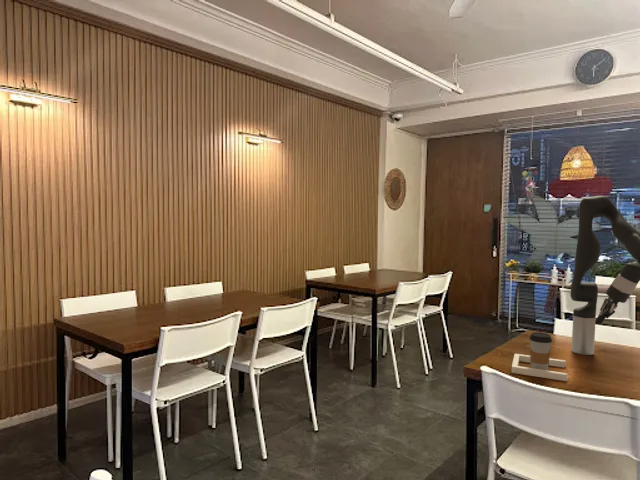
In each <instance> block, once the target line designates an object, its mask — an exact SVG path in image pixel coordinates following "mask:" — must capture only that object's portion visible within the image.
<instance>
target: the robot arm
mask: <svg viewBox="0 0 640 480" xmlns="http://www.w3.org/2000/svg"><path fill="white" fill-rule="evenodd" d="M602 217H604V218H606V219H607V220H609V222H610V224H611V226H610V227H611V231H612V234H613V236H614V237H615V238H616V239H617V240H618V241H619V242H620V243H621V244H622V245H623V246H624V247H625V248H626V251H627V252H628V254H629V255H631V256H632V257H633V258H634V259H636V260H635V261H632V262H627V263H626V264H624V266H623V268H622V269H621V271H620V272H619V273H618V275H617V276H615V278H614V279H613V281H612V282H611V283H610V285H609V287H608V288H607V290H606V291H605V294H606V296H608V297H607V298H605V299H604V300H603V302H602V304H601V306H600V308H599V314H598V316H597V303H598V294H599V286H598V284H597V283H596V282H588V281H587V282H586V281H582V280H583V279H584V277H585V275H586V274H587V273H588V271H590V270H591V269H592V268H593V267H595V265H596V264H597V263H598V261H599V259H600V253H601V243H600V241H599V239H598V237H597V235H596V233H594V231H593V220H594V219H596V218H602ZM577 234H578V235H577V244H576V249H575V261H574V270H573V276H572V281H571V286H570V299H571V300H572V301H573V302H581V303H586V304H585V305H584V306H581V307H577V308H574V309H573V312H572V330H571V332H572V333H571V350H570V351H571V352H572V353H575V354H577V355H585V356H592V355H594V354H595V340H596V339H595V338H596V337H595V336H596V324H597V325H599V326H601V325H602V324H603V322H604V321H605V319H609V318H610V317H611V316H613V315H614V314H615V313H616V309H617V308H618V304H619V303H622V304H625V303H626V302H628V299H629V298H630V297H631V295H632V294H633V292H634V291H635V290H636V288H637V286H638V284H639V282H640V231H638V230H637V229H636V228H635V227H634V226H632V224H630V223H629V222H628V221H627V220H626V219H625V217H624V216H623V214H622V213H621V212H620V210H618V208H617V207H616V206H615V205H614V203H613V202H612V201H611V200H610V199H609V198H608V196H606V195H605V196H604V195H597V196H596V195H595V196H589V197H584V198H582V199H581V201H580V203H579V207H578V233H577Z"/></svg>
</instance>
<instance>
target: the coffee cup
mask: <svg viewBox="0 0 640 480" xmlns="http://www.w3.org/2000/svg"><path fill="white" fill-rule="evenodd" d="M551 336H552V335H551V334H549V333H546V332H539V331H536V332H534V331H533V332H531V333H530V335H529V353H530V354H529V356H530V362H531V363H530V368H534V369H541V370H548V371H549V365H548V364H549V358H551V356H550V355H551V348H552V347H551V346H552V337H551Z"/></svg>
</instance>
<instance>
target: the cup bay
mask: <svg viewBox="0 0 640 480" xmlns="http://www.w3.org/2000/svg"><path fill="white" fill-rule="evenodd" d="M520 362H524V363H529V364H531V362H530V354H528V355H527V354H523V353H522V354H521V353H514V355H513V359H512V365H511V374H518V375H524V376H529V377H539V378H544V379H551V380H556V381H563V382H568V373H567V372H560V371H553V370H549V369H548V370H541V369H534V368H531V367H526V366H520V365H519V364H520ZM566 362H567V361H566V360H565V359H558V358H557V359H556V358H551V357H550V358H549V364H548V366H552V367H558V368H566V365H567V364H566Z"/></svg>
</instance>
